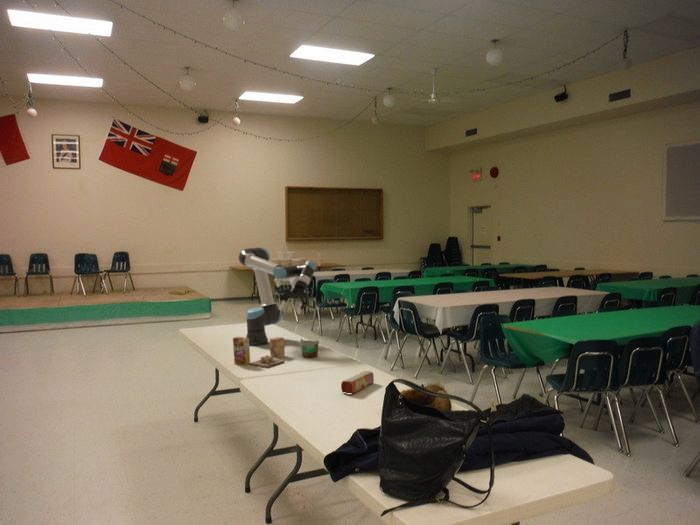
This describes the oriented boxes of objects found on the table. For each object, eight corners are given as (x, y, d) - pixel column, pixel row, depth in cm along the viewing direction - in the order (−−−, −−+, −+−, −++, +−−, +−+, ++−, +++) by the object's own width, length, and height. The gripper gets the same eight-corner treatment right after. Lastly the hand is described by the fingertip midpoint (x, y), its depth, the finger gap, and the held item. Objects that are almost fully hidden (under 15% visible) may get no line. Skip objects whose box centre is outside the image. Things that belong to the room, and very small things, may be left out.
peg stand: (249, 365, 312) (249, 358, 312) (267, 359, 323) (266, 352, 323) (267, 368, 304) (267, 361, 303) (284, 362, 315) (284, 355, 315)
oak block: (270, 356, 330) (269, 338, 329) (277, 354, 335) (276, 336, 334) (277, 358, 326) (277, 339, 326) (284, 355, 331) (283, 337, 330)
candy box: (233, 364, 316) (232, 337, 315) (238, 362, 320) (237, 336, 318) (245, 365, 311) (244, 338, 310) (250, 363, 315) (249, 337, 314)
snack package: (363, 382, 272) (363, 368, 272) (375, 383, 269) (374, 370, 268) (340, 394, 254) (340, 379, 253) (353, 396, 250) (352, 381, 250)
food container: (296, 357, 326) (295, 340, 325) (302, 355, 331) (301, 338, 330) (314, 359, 320) (313, 342, 319) (319, 356, 325) (319, 340, 325)
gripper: (283, 277, 351) (269, 305, 341) (316, 282, 339) (303, 311, 329) (288, 283, 357) (275, 311, 347) (321, 288, 345) (308, 317, 335)
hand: (288, 311), depth 338 cm, fingers open, 13 cm apart
